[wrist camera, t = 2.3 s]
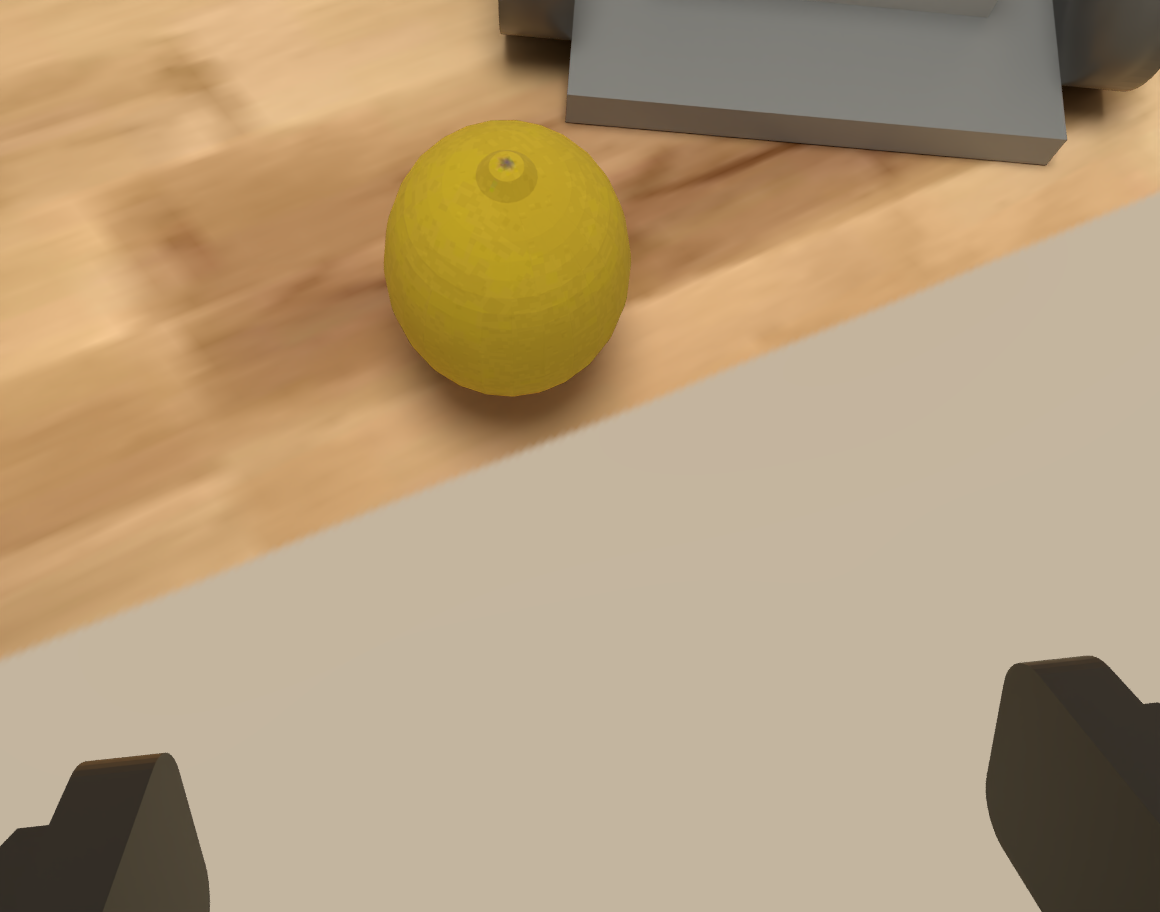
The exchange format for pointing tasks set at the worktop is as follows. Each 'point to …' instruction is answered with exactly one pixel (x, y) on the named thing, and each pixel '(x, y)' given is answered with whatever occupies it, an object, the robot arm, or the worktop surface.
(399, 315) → the lemon
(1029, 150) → the chassis
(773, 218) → the worktop surface
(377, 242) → the worktop surface
